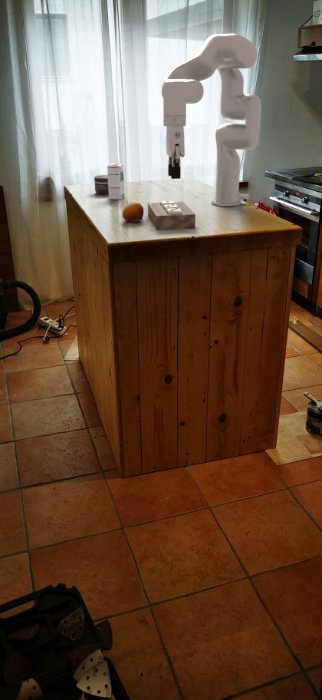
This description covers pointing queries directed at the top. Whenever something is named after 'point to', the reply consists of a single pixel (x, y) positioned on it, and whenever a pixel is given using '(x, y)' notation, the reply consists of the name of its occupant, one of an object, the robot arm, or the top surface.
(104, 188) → the jar
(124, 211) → the fruit
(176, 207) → the button
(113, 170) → the syrup box
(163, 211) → the wooden slot board
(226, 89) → the robot arm
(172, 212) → the button
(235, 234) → the top surface
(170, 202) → the button
